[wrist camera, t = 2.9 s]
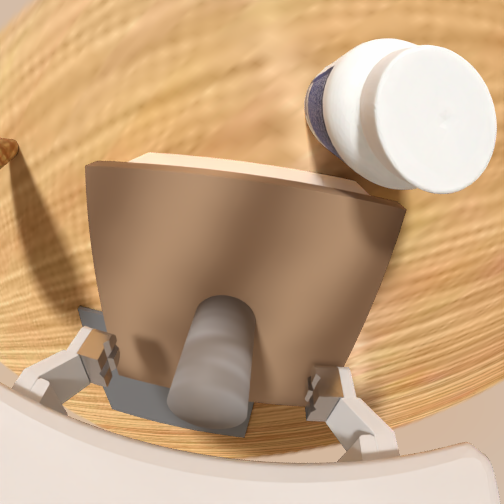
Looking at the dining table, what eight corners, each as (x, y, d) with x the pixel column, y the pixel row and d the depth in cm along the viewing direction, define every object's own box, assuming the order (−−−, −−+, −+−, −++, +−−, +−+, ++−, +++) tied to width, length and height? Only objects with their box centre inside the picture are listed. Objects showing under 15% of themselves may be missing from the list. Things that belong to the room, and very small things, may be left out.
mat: (268, 342, 22) (268, 346, 22) (244, 434, 30) (244, 437, 29) (79, 305, 22) (77, 308, 22) (113, 406, 30) (112, 409, 29)
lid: (397, 201, 11) (473, 277, 6) (320, 395, 17) (327, 476, 12) (97, 160, 11) (-1, 209, 6) (123, 364, 17) (90, 437, 12)
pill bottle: (353, 175, 16) (432, 257, 7) (282, 110, 15) (297, 114, 6) (413, 112, 14) (534, 138, 5) (346, 44, 12) (429, -14, 4)
